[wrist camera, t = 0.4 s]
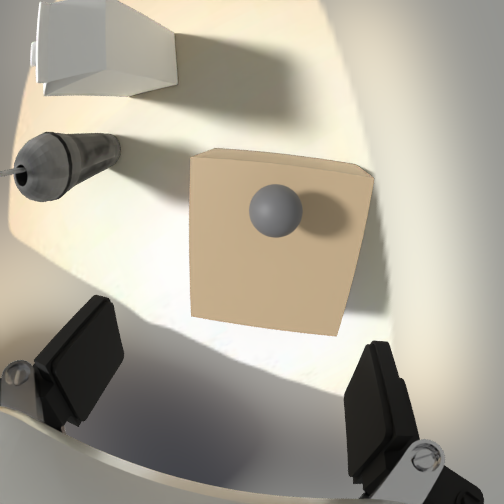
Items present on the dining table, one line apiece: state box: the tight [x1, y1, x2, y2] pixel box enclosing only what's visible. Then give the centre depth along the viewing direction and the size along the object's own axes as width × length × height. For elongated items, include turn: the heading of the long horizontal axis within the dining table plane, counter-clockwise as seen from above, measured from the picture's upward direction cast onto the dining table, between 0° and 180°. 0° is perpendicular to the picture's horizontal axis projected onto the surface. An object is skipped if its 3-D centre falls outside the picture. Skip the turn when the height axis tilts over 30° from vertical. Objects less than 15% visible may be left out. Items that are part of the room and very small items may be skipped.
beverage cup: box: [0, 132, 121, 202], centre depth 26 cm, size 7×7×20 cm
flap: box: [189, 156, 374, 336], centre depth 26 cm, size 17×16×6 cm
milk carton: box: [30, 0, 178, 97], centre depth 21 cm, size 7×7×19 cm
